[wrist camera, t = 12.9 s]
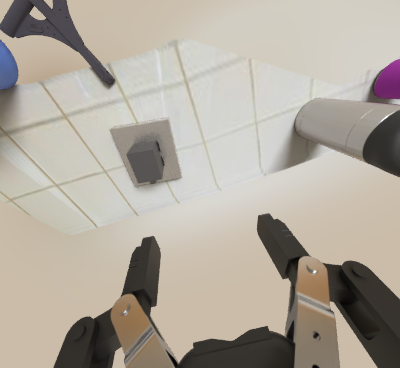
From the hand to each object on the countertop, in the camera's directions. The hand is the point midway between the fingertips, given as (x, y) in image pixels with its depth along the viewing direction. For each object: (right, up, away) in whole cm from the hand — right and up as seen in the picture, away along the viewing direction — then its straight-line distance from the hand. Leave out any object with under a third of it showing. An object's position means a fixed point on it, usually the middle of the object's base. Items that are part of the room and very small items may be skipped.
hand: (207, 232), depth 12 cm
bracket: (-22, +28, +16) cm, 39 cm away
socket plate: (-12, +12, +27) cm, 31 cm away
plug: (-12, +11, +26) cm, 31 cm away
